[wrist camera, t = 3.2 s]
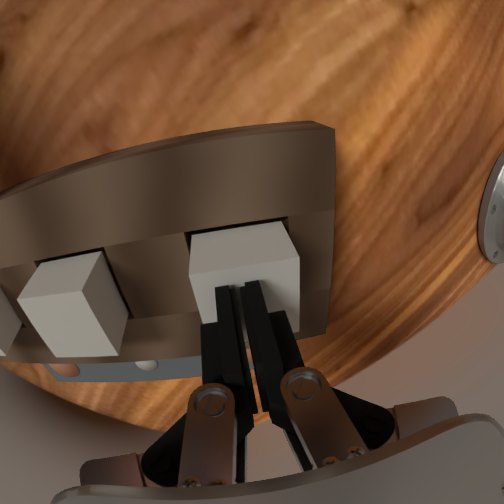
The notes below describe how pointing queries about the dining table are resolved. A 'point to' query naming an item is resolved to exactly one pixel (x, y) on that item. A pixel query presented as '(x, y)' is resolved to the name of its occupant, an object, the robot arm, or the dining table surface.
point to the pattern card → (131, 370)
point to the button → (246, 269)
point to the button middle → (76, 306)
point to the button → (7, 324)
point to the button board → (172, 227)
